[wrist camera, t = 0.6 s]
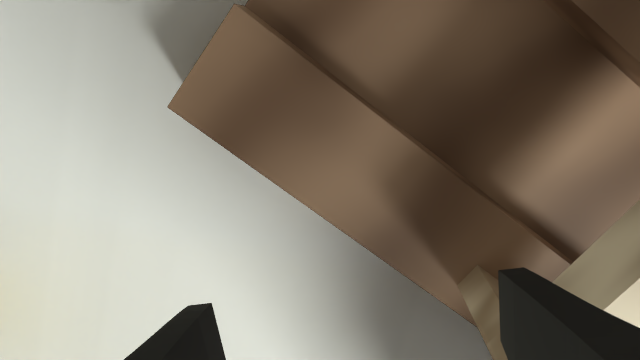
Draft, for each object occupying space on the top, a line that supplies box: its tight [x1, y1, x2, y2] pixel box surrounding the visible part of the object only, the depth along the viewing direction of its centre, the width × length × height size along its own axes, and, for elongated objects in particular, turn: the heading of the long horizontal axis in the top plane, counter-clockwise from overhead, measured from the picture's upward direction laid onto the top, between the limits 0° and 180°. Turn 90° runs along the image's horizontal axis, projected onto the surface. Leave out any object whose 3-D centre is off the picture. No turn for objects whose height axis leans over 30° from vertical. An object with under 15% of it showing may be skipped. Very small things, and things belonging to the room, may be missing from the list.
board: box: [168, 0, 640, 328], centre depth 18 cm, size 22×16×3 cm
